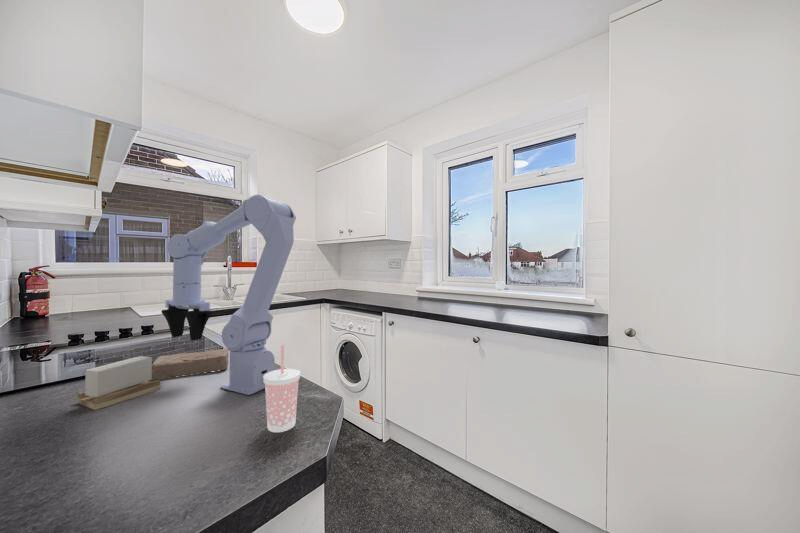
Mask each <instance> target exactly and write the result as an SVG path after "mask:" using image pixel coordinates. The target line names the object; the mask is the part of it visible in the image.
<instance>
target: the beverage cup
mask: <svg viewBox="0 0 800 533" xmlns="http://www.w3.org/2000/svg"><path fill="white" fill-rule="evenodd" d="M284 345H285V344H284ZM284 345H280V368H279V369H274V371H270V372H268V373H266V374H265V375H264V376H263V379H264V380H263V382H264V383H265V388H264V390H265V405H266V406H265V408H266V425H267V426H266V429H267V430H268V431H269V432H271V433H283V432H285V431H286V432H287V431H289V430H291V429H292V428H294V427H295V425H296V420H297V419H296V418H297V405H298V392H299V380H300V378H301V371H300V370H299V369H295V368H285V366H284V365H285V364H284V363H285V359H284V358H285V346H284Z"/></svg>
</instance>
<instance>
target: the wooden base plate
mask: <svg viewBox="0 0 800 533" xmlns="http://www.w3.org/2000/svg"><path fill="white" fill-rule="evenodd" d="M159 390H161V379H159V380H151V381H149V380H148V381H145V382H142V383H139V384H136V385H133V386H130V387H127V388H124V389H121V390H118V391H115V392H112V393H109V394H106V395H103V396H100V397H93V396H87V395H85V390H84V391H81V392H77V404H79V405H81V406H84V407H87V408H88V409H91V410H94V411H96V410H100V409H102V408H106V407H109V406H112V405H114V404H115V405H116V404H119V403H122V402H125V401H128V400H132V399H134V398H137V397H140V396H143V395H148V394H150V393H153V392H156V391H159Z"/></svg>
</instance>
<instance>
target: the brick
mask: <svg viewBox="0 0 800 533" xmlns="http://www.w3.org/2000/svg"><path fill="white" fill-rule="evenodd" d="M228 365H229V351H228V348H219V349H210V350H209V349H208V350H204V351H200V352H199V351H198V352H188V353H187V352H184V353H183V352H182V353H176V354H168V355H160V356H158V357H157V358H156V359H155V361H152V379H151V380H150V381H155V380H154V379H159V380H163V379H162V378H166V379H169V378H168V377H173V378H177V377H176V376H181V377H183V376H182V375H190V376H192V375H191V374H196V375H198V374H197V373H204V372H211V371H218V370H222V371H225V370H226V369H227V368H228ZM218 372H219V371H218Z"/></svg>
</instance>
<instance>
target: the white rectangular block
mask: <svg viewBox="0 0 800 533" xmlns="http://www.w3.org/2000/svg"><path fill="white" fill-rule="evenodd" d="M152 364H153V357H151V356H142V355H141V356H140V355H139V356H135V357H131V358H128V359H124V360H120V361H116V362H115V361H114V362H112V363H108V364H104V365H99V366H96V367H93V368H88V369H86V370H85V380H84V382H85V383H84V386H85V387H84V388H85V390H84V391H85V395H87V396H93V397H100V396H103V395H106V394H109V393H112V392H115V391H118V390H121V389H124V388H127V387H130V386H133V385H136V384H139V383H142V382H145V381H148V382H149V381H152V380H151V379H152Z"/></svg>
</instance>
